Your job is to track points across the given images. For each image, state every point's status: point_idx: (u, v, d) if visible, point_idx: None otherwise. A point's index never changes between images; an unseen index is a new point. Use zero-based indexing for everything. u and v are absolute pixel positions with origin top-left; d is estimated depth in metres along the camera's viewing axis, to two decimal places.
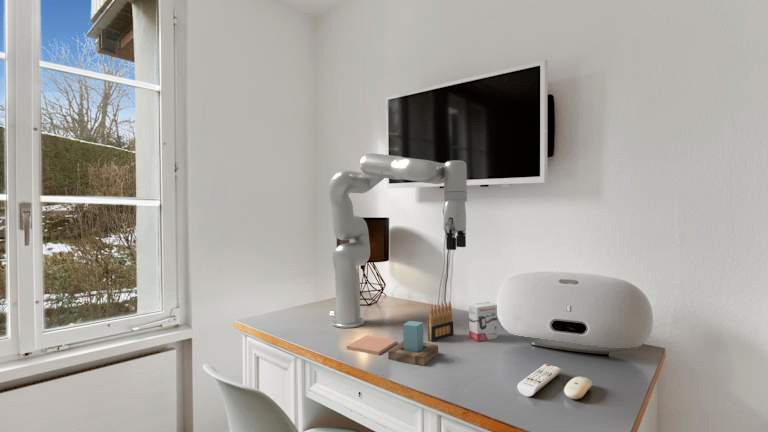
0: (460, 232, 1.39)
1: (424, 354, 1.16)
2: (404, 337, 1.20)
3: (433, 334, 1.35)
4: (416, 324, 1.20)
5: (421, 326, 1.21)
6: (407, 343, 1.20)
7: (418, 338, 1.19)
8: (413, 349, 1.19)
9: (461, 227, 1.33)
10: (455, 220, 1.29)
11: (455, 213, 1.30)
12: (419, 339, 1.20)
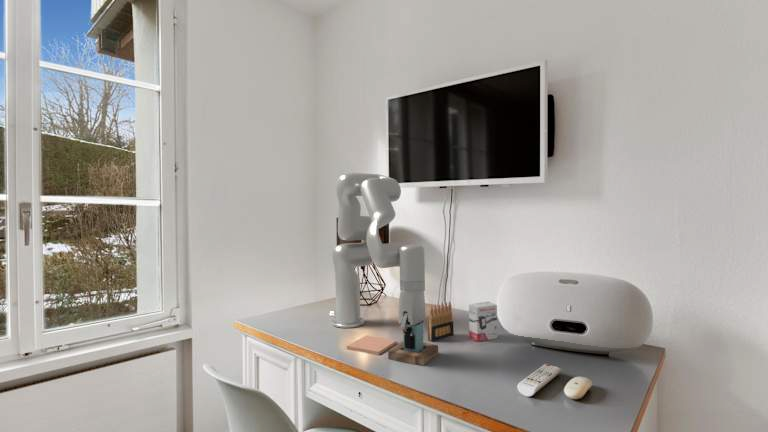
0: None
1: (424, 354, 1.16)
2: None
3: (433, 334, 1.35)
4: (416, 324, 1.20)
5: (421, 325, 1.21)
6: None
7: (418, 338, 1.19)
8: (413, 349, 1.19)
9: (418, 320, 1.19)
10: (410, 315, 1.16)
11: (410, 307, 1.16)
12: (419, 339, 1.20)
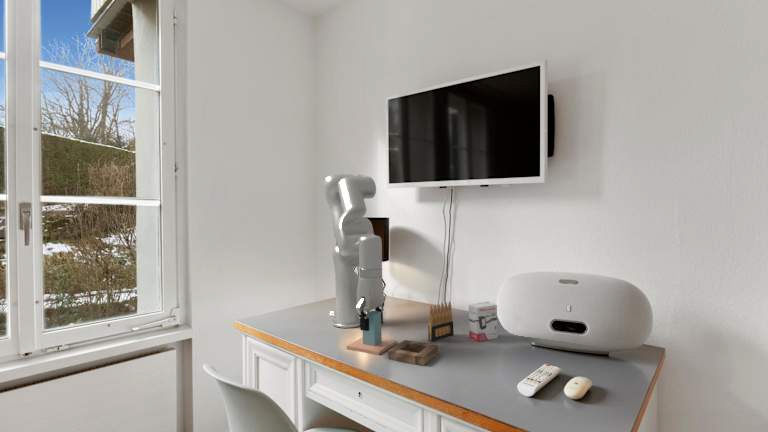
0: (378, 308, 1.35)
1: (424, 354, 1.16)
2: None
3: (433, 334, 1.35)
4: (374, 313, 1.30)
5: (379, 314, 1.31)
6: (366, 331, 1.29)
7: (375, 326, 1.29)
8: (370, 336, 1.29)
9: (375, 305, 1.29)
10: (367, 299, 1.26)
11: (367, 292, 1.26)
12: (377, 326, 1.30)
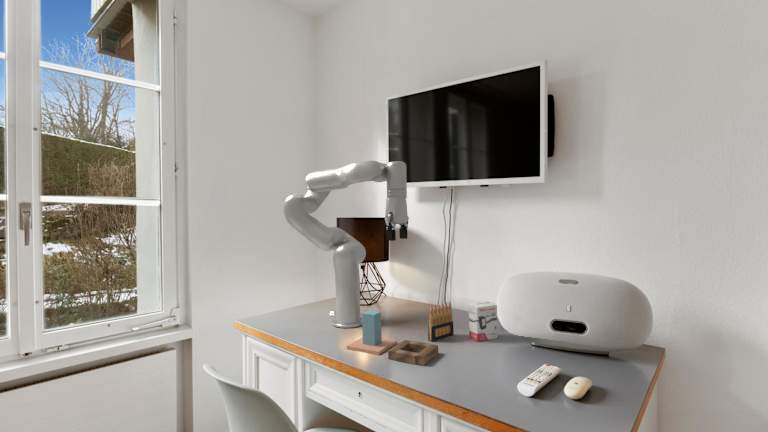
0: (403, 225, 1.56)
1: (424, 354, 1.16)
2: (363, 325, 1.30)
3: (433, 334, 1.35)
4: (374, 313, 1.30)
5: (379, 314, 1.31)
6: (366, 331, 1.29)
7: (375, 326, 1.29)
8: (370, 336, 1.29)
9: (401, 220, 1.50)
10: (394, 214, 1.46)
11: (394, 208, 1.46)
12: (377, 326, 1.30)
